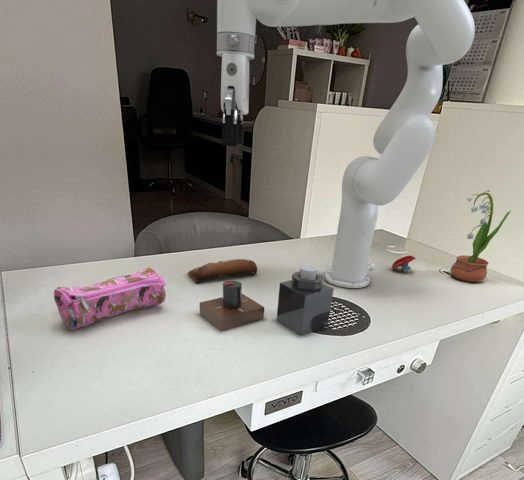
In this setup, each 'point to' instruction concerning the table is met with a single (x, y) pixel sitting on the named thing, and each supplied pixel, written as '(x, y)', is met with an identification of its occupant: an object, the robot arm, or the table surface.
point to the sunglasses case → (223, 269)
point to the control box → (231, 313)
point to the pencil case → (109, 298)
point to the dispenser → (304, 304)
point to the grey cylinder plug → (308, 272)
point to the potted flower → (477, 246)
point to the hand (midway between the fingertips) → (232, 144)
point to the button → (403, 263)
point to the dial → (232, 294)
